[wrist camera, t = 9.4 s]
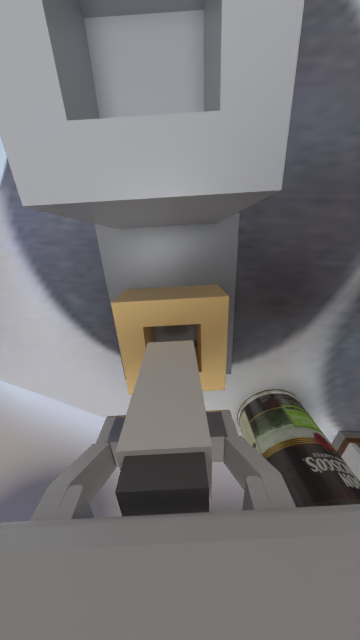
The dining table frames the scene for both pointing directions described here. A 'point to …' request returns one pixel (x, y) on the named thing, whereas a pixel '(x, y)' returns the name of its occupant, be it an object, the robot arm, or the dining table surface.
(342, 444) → the striped beige pillar
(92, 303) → the dining table surface
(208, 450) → the plug
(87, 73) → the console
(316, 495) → the coffee can
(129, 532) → the robot arm
